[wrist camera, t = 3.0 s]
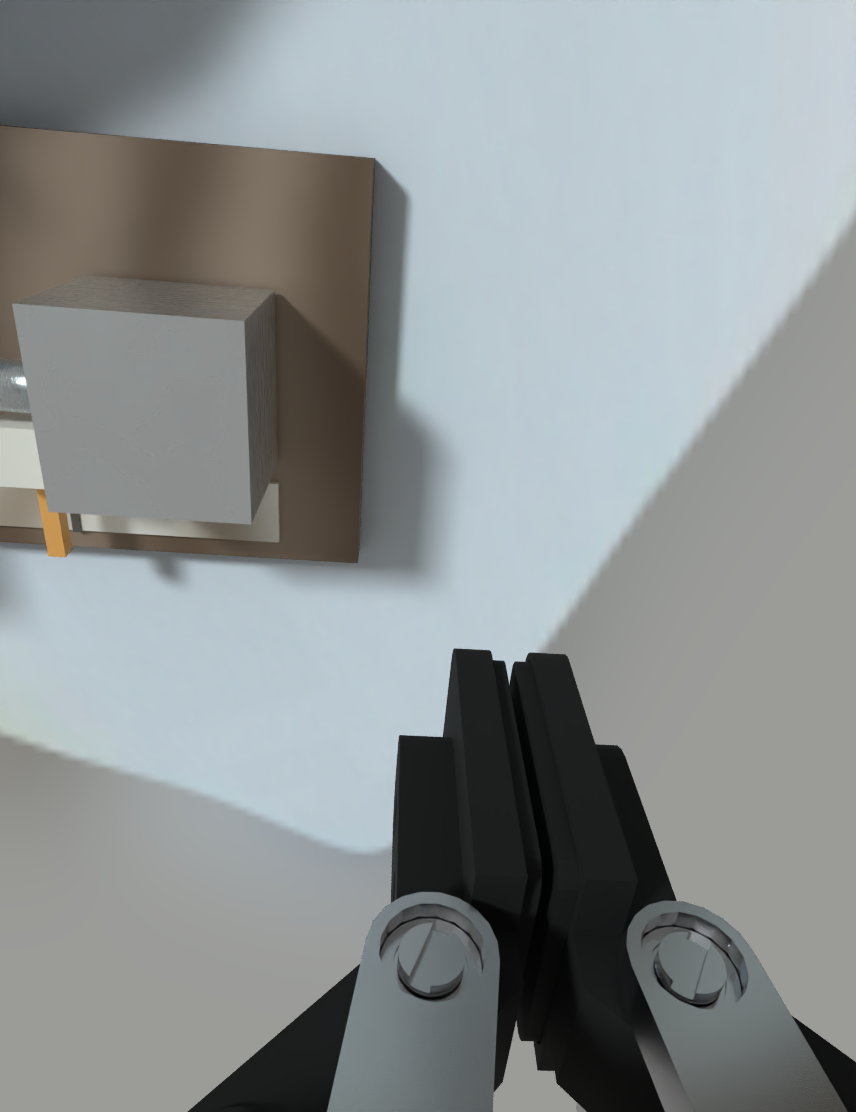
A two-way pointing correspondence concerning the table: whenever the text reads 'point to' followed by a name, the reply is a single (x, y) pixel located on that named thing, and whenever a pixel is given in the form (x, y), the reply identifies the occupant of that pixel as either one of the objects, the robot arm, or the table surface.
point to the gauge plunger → (148, 397)
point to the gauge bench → (224, 260)
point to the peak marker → (30, 476)
